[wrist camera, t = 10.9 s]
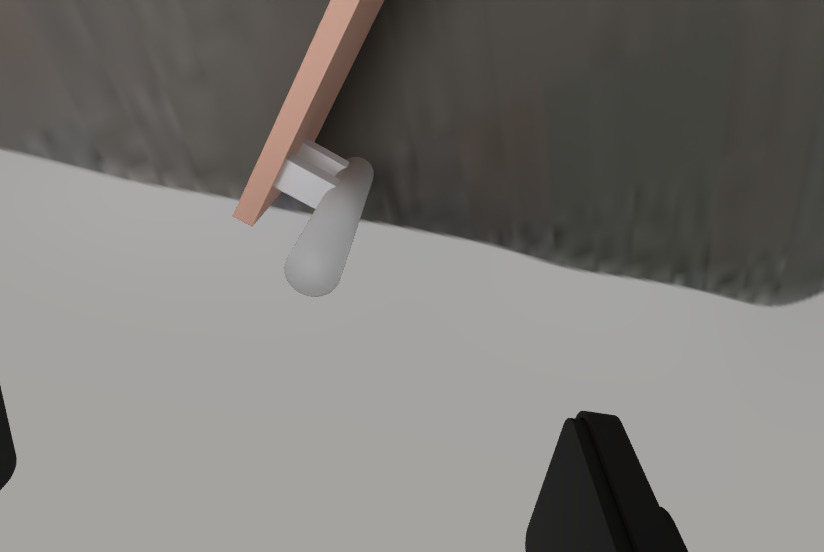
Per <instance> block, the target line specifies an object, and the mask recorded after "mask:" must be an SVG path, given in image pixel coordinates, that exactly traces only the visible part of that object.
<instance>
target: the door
mask: <svg viewBox="0 0 824 552" xmlns="http://www.w3.org/2000/svg"><path fill="white" fill-rule="evenodd" d="M383 2H384V0H331V1H330V3H329V5H328V7H327V10H326V12H325V14H324V16H323V18H322V21H321V23H320V25H319V27H318V29H317V32H316V34H315V36H314V38H313V40H312V43H311V45H310V47H309V49H308V51H307V54H306V56H305V58H304V60H303V62H302V65H301V67H300V69H299V71H298V73H297V76H296V78H295V80H294V82H293V85H292V87H291V89H290V91H289V93H288V96H287V98H286V100H285V102H284V104H283V107H282V109H281V111H280V113H279V115H278V118H277V120H276V122H275V124H274V126H273V129H272V131H271V133H270V135H269V137H268V140H267V142H266V144H265V146H264V148H263V151H262V153H261V155H260V157H259V159H258V162H257V164H256V166H255V168H254V170H253V173H252V175H251V177H250V179H249V181H248V184H247V186H246V188H245V190H244V192H243V195H242V197H241V199H240V201H239V204H238V206H237V208H236V210H235V212H234V214H233V217H235V218H237V219H239V220H241V221H243V222H244V223H246V224H248V225H250V226H253V225H254V224H255V223H256V221H257V220H258V219H259V218H260V217H261V216H262V214H263V213H264V212H265V211H266V210H267V208H268V207H269V206H270V205H271V204H272V203H273V201H274V200H275V199H276V198H277V197H278V195H279V194H280V193H281V192H284V193H286V194H288V195H290V196H292V197H294V198H296V199H297V200H299V201H301V202H303V203H305V204H307V205H309V206H311V207H312V208H314V209H315V211H314V213H313V215H312V216H311V218H310V220H309V221H308V223H307V225H306V227H305V228H304V230H303V232H302V233H301V235H300V237H299V238H298V240H297V242H296V244H295V246H294V247H293V249H292V251H291V252H290V254H289V256H288V257H287V259H286V262H285V267H284V268H285V269H284V270H285V276H286V278H287V281H288V282H289V283H290V285H291V286H292V287H293V288H294V289H295V290H296V291H298V292H299V293H302V294H304V295H307V296H312V297H319V296H323V295H326V294H328V293H330V292H332V291H333V290H334V289H335V288H336V286H337V285H338V283H339V281H340V278H341V275H342V272H343V269H344V266H345V263H346V260H347V257H348V253H349V251H350V248H351V244H352V242H353V239H354V235H355V232H356V229H357V226H358V223H359V220H360V217H361V214H362V211H363V208H364V205H365V202H366V199H367V196H368V193H369V190H370V187H371V184H372V181H373V177H374V172H373V168H372V166H371V164H370V163H369V162H368V161H367V160H365V159H364V158H361V157H351V158H348V159H346V160H345V159H343V158H342V157H340V156H338V155H336V154H334V153H333V152H331V151H329V150H327V149H326V148H324V147H322V146H320V145H318V144H317V143H315V140H316V138H317V136H318V134H319V132H320V130H321V128H322V126H323V124H324V122H325V120H326V118H327V116H328V114H329V112H330V110H331V108H332V106H333V104H334V101H335V99H336V97H337V95H338V93H339V91H340V89H341V87H342V85H343V83H344V81H345V79H346V77H347V75H348V73H349V71H350V69H351V67H352V65H353V63H354V61H355V59H356V57H357V55H358V53H359V51H360V49H361V47H362V45H363V43H364V41H365V38H366V36H367V34H368V32H369V30H370V28H371V26H372V24H373V22H374V20H375V18H376V16H377V14H378V12H379V10H380V8H381V6H382V4H383Z"/></svg>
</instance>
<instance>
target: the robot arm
mask: <svg viewBox="0 0 824 552" xmlns="http://www.w3.org/2000/svg"><path fill="white" fill-rule="evenodd" d="M15 467H16V453H15V449H14V444H13V440H12V436H11V431H10V427H9V422H8V418H7V413H6V409H5V405H4V400H3V396H2V392H1V387H0V490H1V489H2V487H4V485H5V484H6V483H7V482H8V481H9V479H10V478H11V476H12V474H13V472H14V470H15ZM525 546H526V552H688V550H687V548H686V546H685V544H684V542H683V540H682V538H681V535H680V533H679V531H678V529H677V527H676V525H675V523H674V521H673V519H672V518H671V516H670V514H669V513H668V512H667V511H666V510H665V509H664V508H662V507H659V504H658V502H657V500H656V498H655V496H654V493H653V491H652V489H651V487H650V485H649V482H648V481H647V478H646V476H645V473H644V472H643V469H642V467H641V465H640V463H639V460H638V458H637V456H636V454H635V451H634V449H633V447H632V445H631V443H630V440H629V438H628V436H627V434H626V431H625V429H624V427H623V425H622V423H621V421H620V419H619V418H618V417H617V416H615V415H608V414H601V413H595V412H587V411H580V412H579V413H578V414H577V416H576V418H575V419H573V418H568V419H567V420H566V421H565V423H564V425H563V428H562V431H561V434H560V437H559V440H558V442H557V445H556V448H555V451H554V454H553V457H552V460H551V462H550V465H549V468H548V471H547V474H546V477H545V480H544V482H543V485H542V488H541V491H540V494H539V497H538V500H537V502H536V505H535V508H534V511H533V514H532V517H531V520H530V523H529V525H528V528H527V533H526V543H525Z"/></svg>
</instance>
